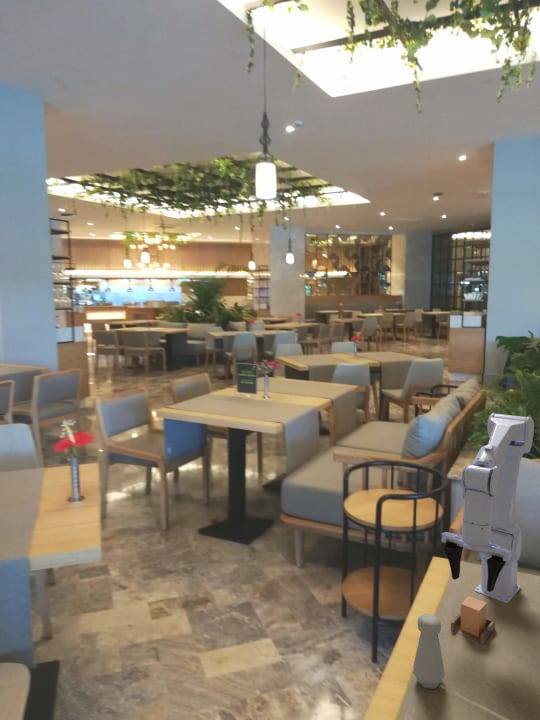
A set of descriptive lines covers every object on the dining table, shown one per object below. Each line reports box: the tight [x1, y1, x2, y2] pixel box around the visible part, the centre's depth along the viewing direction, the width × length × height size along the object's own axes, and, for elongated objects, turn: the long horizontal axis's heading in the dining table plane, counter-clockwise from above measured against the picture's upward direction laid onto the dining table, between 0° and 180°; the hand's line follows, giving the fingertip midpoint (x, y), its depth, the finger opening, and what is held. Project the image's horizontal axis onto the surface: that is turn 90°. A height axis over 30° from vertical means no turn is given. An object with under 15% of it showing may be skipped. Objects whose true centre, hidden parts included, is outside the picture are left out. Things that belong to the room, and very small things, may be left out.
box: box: [450, 611, 496, 644], centre depth 116 cm, size 6×7×2 cm
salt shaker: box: [412, 613, 446, 690], centre depth 101 cm, size 6×6×13 cm
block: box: [460, 595, 488, 637], centre depth 116 cm, size 4×4×6 cm
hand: (472, 584), depth 115 cm, fingers open, 7 cm apart
